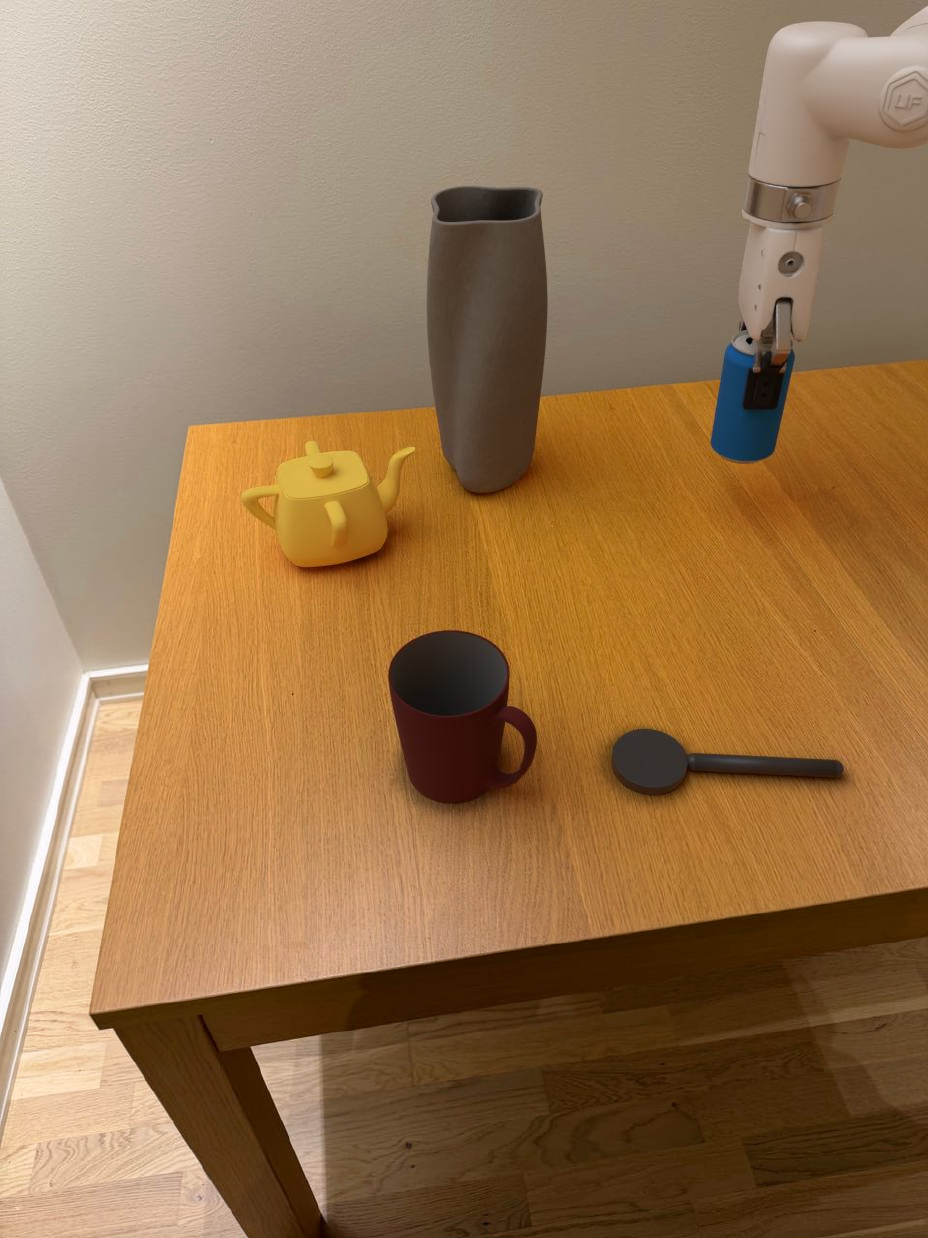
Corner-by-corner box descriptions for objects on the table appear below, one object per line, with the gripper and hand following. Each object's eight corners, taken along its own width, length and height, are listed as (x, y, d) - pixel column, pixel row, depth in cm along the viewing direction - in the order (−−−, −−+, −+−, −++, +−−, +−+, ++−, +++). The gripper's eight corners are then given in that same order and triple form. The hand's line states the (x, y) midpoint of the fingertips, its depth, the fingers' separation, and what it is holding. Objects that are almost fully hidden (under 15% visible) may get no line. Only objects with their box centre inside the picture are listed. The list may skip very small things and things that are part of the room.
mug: (561, 776, 71) (569, 681, 64) (495, 852, 66) (497, 759, 59) (444, 709, 77) (439, 614, 69) (375, 775, 72) (362, 680, 64)
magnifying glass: (832, 745, 73) (836, 734, 72) (850, 805, 69) (855, 794, 68) (609, 734, 74) (611, 723, 73) (612, 793, 70) (614, 782, 69)
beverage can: (757, 431, 95) (779, 323, 87) (784, 463, 90) (810, 351, 82) (699, 439, 94) (716, 331, 86) (723, 471, 89) (743, 360, 81)
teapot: (327, 491, 102) (314, 411, 95) (422, 523, 97) (416, 441, 90) (248, 557, 93) (228, 474, 86) (348, 596, 88) (335, 511, 81)
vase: (545, 448, 107) (559, 184, 87) (533, 507, 99) (545, 227, 78) (446, 441, 109) (436, 179, 89) (425, 497, 100) (409, 221, 80)
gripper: (860, 231, 69) (810, 435, 81) (813, 166, 82) (776, 350, 94) (761, 233, 70) (726, 435, 81) (730, 168, 82) (703, 351, 94)
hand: (753, 388), depth 87 cm, fingers closed on beverage can, 6 cm apart
